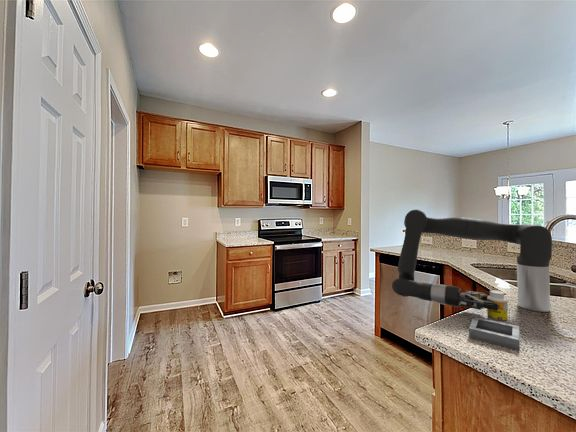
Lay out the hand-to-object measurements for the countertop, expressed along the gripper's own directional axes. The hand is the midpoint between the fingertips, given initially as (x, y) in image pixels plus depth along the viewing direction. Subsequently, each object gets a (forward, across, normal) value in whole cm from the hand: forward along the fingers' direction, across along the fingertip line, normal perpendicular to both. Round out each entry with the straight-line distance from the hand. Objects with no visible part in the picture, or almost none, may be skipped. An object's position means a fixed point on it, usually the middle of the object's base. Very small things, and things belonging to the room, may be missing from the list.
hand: (498, 303), depth 89 cm
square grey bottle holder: (0, -16, +6) cm, 17 cm away
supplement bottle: (0, 0, +6) cm, 6 cm away
